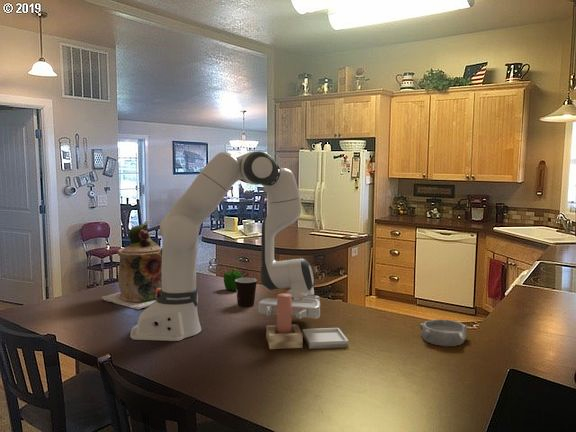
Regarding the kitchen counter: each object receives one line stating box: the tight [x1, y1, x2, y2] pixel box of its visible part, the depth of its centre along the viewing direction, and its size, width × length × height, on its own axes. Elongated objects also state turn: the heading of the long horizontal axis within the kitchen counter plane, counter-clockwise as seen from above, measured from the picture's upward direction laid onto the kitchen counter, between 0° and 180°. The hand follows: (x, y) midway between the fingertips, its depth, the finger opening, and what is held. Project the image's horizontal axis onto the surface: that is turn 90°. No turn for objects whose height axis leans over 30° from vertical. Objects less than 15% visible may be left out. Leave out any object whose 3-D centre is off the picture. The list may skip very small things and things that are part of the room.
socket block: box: [265, 323, 304, 350], centre depth 147 cm, size 10×10×4 cm
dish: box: [419, 318, 468, 347], centre depth 151 cm, size 14×14×5 cm
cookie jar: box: [101, 220, 162, 310], centre depth 194 cm, size 25×25×32 cm
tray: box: [302, 327, 349, 350], centre depth 149 cm, size 12×12×2 cm
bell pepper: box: [223, 268, 243, 292], centre depth 211 cm, size 8×8×10 cm
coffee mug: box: [235, 277, 258, 308], centre depth 189 cm, size 12×9×10 cm
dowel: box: [276, 293, 293, 334], centre depth 146 cm, size 4×4×15 cm
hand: (283, 315), depth 145 cm, fingers open, 8 cm apart
